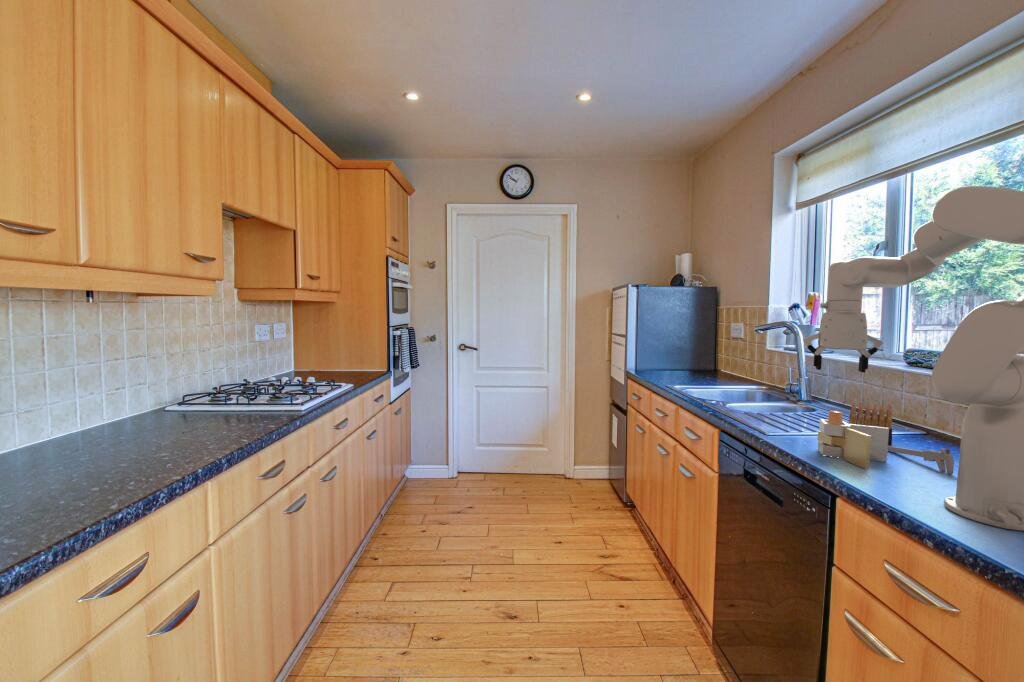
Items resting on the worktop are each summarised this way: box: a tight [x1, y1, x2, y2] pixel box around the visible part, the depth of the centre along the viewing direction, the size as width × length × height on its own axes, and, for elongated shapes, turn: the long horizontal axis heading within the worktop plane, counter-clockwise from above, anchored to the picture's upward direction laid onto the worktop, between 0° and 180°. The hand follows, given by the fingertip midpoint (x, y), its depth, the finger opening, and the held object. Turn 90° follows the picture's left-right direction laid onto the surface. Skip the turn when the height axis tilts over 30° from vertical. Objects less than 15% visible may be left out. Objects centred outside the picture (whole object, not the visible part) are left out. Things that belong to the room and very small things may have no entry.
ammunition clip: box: [848, 401, 893, 446], centre depth 131 cm, size 11×2×12 cm, turn 68°
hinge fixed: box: [817, 418, 889, 463], centre depth 116 cm, size 6×14×9 cm, turn 64°
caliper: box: [887, 445, 955, 475], centre depth 115 cm, size 20×1×6 cm, turn 178°
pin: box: [827, 410, 844, 447], centre depth 118 cm, size 3×3×12 cm
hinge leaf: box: [817, 428, 871, 470], centre depth 114 cm, size 14×5×8 cm, turn 0°
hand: (839, 370), depth 117 cm, fingers open, 9 cm apart
